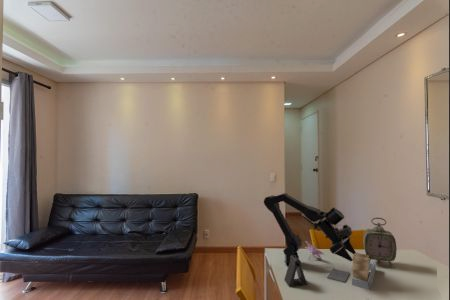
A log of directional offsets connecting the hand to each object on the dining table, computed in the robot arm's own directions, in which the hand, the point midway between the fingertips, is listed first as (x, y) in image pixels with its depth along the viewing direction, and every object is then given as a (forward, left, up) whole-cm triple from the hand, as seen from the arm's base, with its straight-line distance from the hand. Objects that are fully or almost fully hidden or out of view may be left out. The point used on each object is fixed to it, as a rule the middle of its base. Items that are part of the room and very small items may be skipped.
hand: (353, 257), depth 125 cm
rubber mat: (-6, +4, -11) cm, 13 cm away
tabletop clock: (+22, +17, -11) cm, 29 cm away
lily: (-11, +24, -11) cm, 29 cm away
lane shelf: (+6, +2, -11) cm, 12 cm away
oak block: (+2, -2, -11) cm, 11 cm away
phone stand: (-28, -2, -11) cm, 30 cm away
